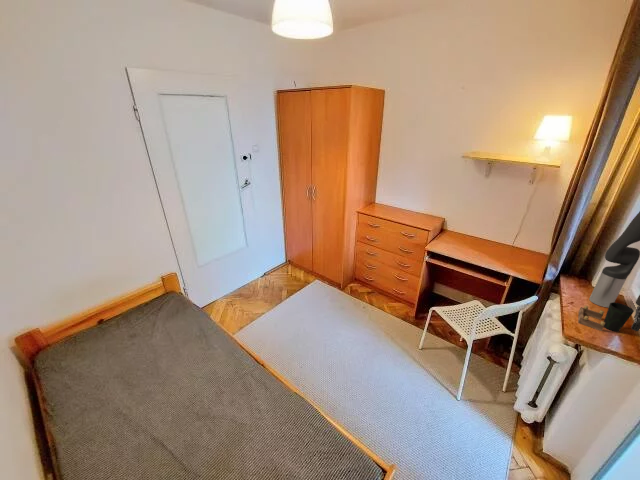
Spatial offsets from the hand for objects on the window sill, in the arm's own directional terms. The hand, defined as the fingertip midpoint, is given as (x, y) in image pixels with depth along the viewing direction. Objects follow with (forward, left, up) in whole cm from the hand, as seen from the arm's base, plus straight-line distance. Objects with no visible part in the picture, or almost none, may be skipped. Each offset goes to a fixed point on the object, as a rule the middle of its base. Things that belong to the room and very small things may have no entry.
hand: (634, 329), depth 124 cm
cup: (0, -7, -3) cm, 8 cm away
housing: (0, -14, -3) cm, 14 cm away
